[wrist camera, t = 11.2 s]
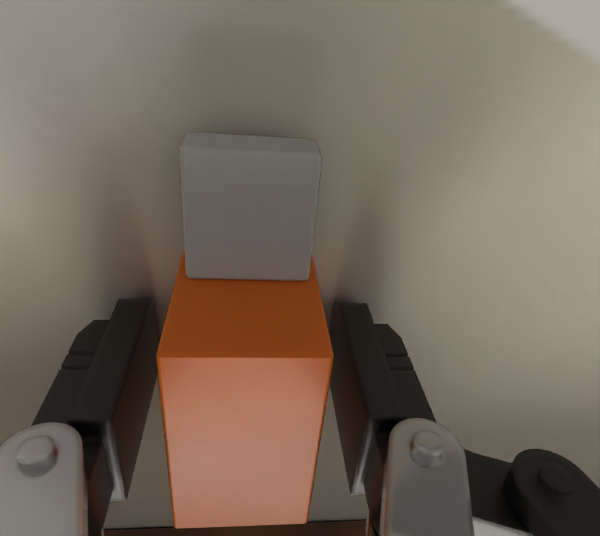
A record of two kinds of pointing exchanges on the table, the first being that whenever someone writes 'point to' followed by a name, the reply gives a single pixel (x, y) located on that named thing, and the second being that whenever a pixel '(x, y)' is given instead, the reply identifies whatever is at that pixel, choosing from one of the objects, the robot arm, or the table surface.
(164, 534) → the cabinet
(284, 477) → the orange and grey block
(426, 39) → the table surface
